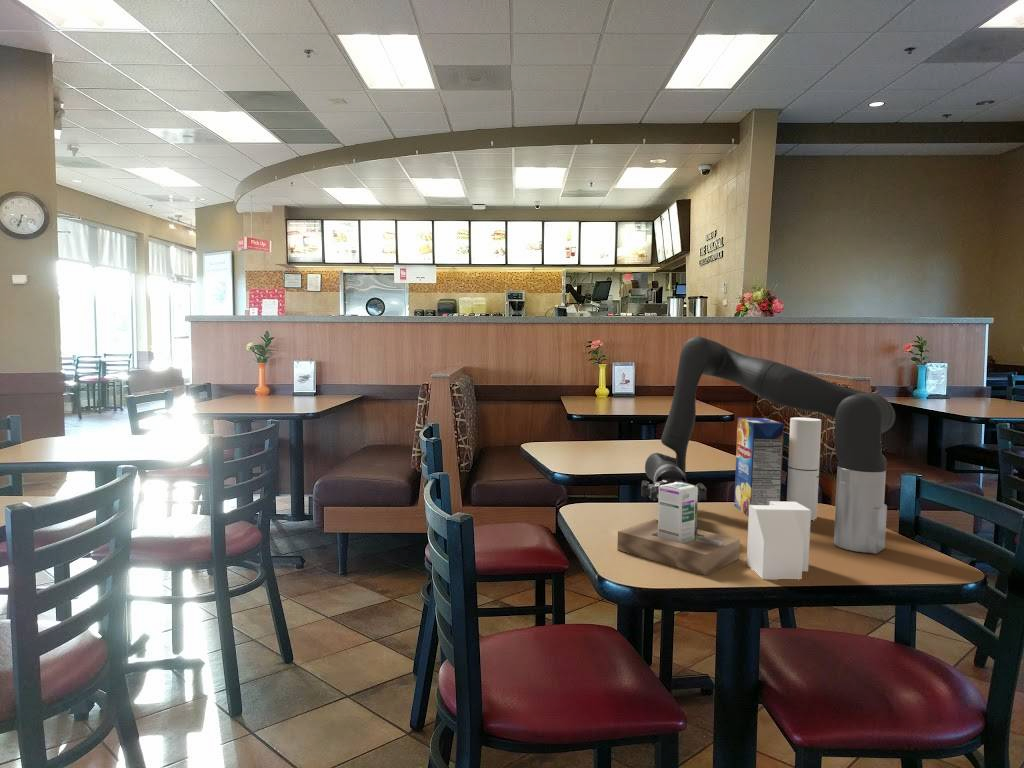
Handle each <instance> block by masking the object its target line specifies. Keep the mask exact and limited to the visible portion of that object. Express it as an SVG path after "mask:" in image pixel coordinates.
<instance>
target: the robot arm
mask: <svg viewBox="0 0 1024 768" xmlns="http://www.w3.org/2000/svg"><path fill="white" fill-rule="evenodd" d="M702 375H704V376H710V377H711V376H712V377H716V378H720V379H723V380H726V381H730V382H733V383H735V384H737V385H739V386H741V387H742V388H744V389H746V390H747V391H749V392H750V393H752V394H754V395H755V396H758V397H760V398H763V399H765V400H767V401H770V402H771V403H775V404H778V405H780V406H784V407H788V408H793V409H797V410H801V411H807V412H813V413H818V414H822V415H825V416H827V417H831V418H834V452H835V455H836V458H837V472H836V473H837V474H836V489H835V490H836V491H835V492H836V493H835V508H834V509H835V510H834V511H835V512H834V529H833V530H834V531H833V544H834V545H835V546H836V547H838V548H840V549H843V550H847V551H852V552H858V553H865V554H866V553H869V554H874V555H877V554H879V553H880V552H881V551H883V550H884V549H885V548H886V534H887V533H886V532H887V530H886V529H887V514H888V506H887V504H885V494H886V477H887V475H886V473H887V458H886V456H885V455H884V454H883V452H882V448H881V447H882V446H881V445H882V443H881V441H882V434H883V433H886V432H887V431H889V429H891V428H892V427H893V425H894V423H895V421H896V411H895V409H894V407H893V405H892V404H891V402H889V401H888V400H887V399H886V398H884V397H883V396H881V395H879V394H875V393H871V392H866V391H862V390H858V389H852V388H851V387H850V388H849V387H845V386H841V385H838V384H835V383H832V382H829V381H827V380H825V379H823V378H821V377H818V376H816V375H813V374H810V373H808V372H805V371H802V370H800V369H797V368H795V367H792V366H790V365H787V364H784V363H780V362H778V361H774V360H770V359H765V358H760V357H754V356H748V355H744V354H743V353H740V352H737V351H736V350H733V349H732V348H729V347H727V346H725V345H724V344H721V343H719V342H718V341H715V340H712V339H710V338H706V337H702V336H694V337H691V338H689V339H687V340H686V341H685V342H684V344H683V346H682V349H681V352H680V355H679V361H678V368H677V374H676V379H675V386H674V391H673V397H672V402H671V405H670V410H669V413H668V417H667V419H666V422H665V426H664V429H663V432H662V434H661V435H662V436H661V439H660V442H661V443H662V445H663V446H664V447H667V448H668V449H670V450H672V451H673V452H674V453H675V455H676V457H673V456H669V455H667V454H663V453H660V452H653V453H651V454H650V455H649V456H648V457H647V458H646V460H645V465H644V472H645V475H646V476H647V478H648V479H650V480H651V481H652V482H653V483H651V484H650V481H647V480H645V479H644V480H641V495H640V496H641V497H642V498H645V497H647V496H648V497H649V498H650V500H653V502H657V501H658V499H659V486H660V485H666V484H671V483H674V482H680V483H687V484H689V483H688V480H687V478H686V471H687V470H686V469H687V468H686V464H687V463H686V461H687V451H688V450H687V449H688V445H689V442H690V439H691V436H692V433H693V430H694V426H695V423H696V418H697V417H696V414H697V413H696V408H697V406H696V404H697V403H696V396H697V390H698V386H699V382H700V380H701V377H702ZM695 486H697V487H698V500H697V502H701V501H707V491H708V490H707V489H708V488H707V487H706V486H705V485H704V483H701V482H698V483H697V484H695Z"/></svg>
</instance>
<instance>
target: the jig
mask: <svg viewBox="0 0 1024 768" xmlns="http://www.w3.org/2000/svg"><path fill="white" fill-rule="evenodd" d="M740 540H741V539H739V538H736V537H731V536H727V535H723V534H720V533H719V534H718V533H716V532H715V533H714V532H710V531H705V530H702V529H698V528H697V537H696V540H694V541H691V542H689V543H686V544H684V543H680V542H676V541H672V540H668V539H664V538H661V537H658V519H651V520H649V521H645V522H643V523H639V524H636V525H633V526H630V527H628V528H624V529H621V530H618V531H617V543H616V544H617V548H616V549H617V551H618V550H620V551H619V552H622V551H623V552H622V553H625V552H627V553H626V554H629V553H631V554H630V555H632V554H634V555H633V556H636V555H638V556H637V557H639V556H640V558H643V557H644V558H643V559H646V558H647V560H650V561H653V560H654V561H653V562H656V563H657V562H658V563H661V564H664V565H667V564H668V566H670V565H671V567H674V566H675V567H674V568H677V567H678V569H681V570H684V569H685V571H688V572H691V571H692V573H695V572H696V573H695V574H698V573H700V574H699V575H702V574H703V575H702V576H706V574H707V575H709V574H711V573H713V572H715V571H717V570H719V569H720V568H723V567H725V566H728V565H729V564H731V563H733V562H735V561H738V560H739V559H740V548H741V547H740V544H741V543H740V542H741V541H740ZM716 569H717V570H716ZM714 570H715V571H714ZM712 571H713V572H712ZM710 572H711V573H710ZM708 573H709V574H708Z"/></svg>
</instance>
